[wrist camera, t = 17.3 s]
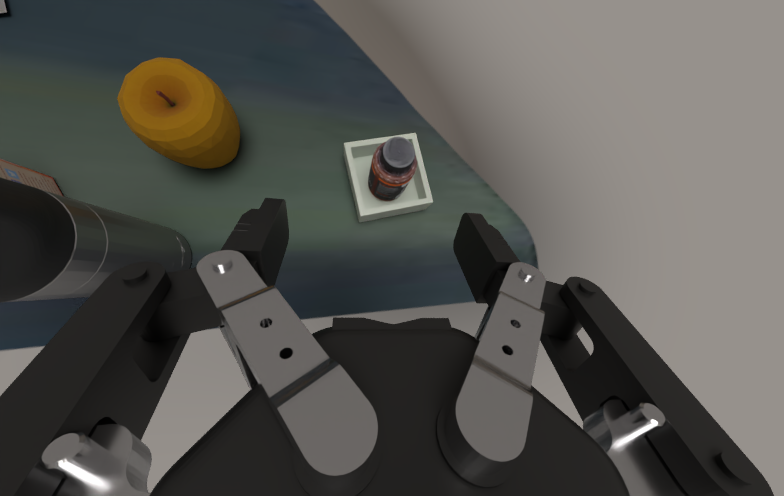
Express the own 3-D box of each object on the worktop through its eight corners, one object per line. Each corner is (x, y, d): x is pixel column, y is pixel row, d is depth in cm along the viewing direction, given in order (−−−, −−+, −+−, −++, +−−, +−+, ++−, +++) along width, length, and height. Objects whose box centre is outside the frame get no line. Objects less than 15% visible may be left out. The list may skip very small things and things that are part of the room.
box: (359, 222, 44) (360, 216, 39) (343, 156, 44) (343, 143, 40) (424, 209, 46) (433, 202, 41) (408, 146, 47) (415, 132, 42)
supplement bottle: (408, 198, 45) (428, 172, 33) (372, 205, 44) (380, 180, 32) (399, 163, 45) (417, 125, 34) (363, 169, 44) (369, 132, 33)
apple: (162, 123, 41) (80, 52, 28) (238, 104, 43) (193, 29, 30) (189, 192, 40) (117, 151, 27) (264, 169, 42) (229, 121, 30)
